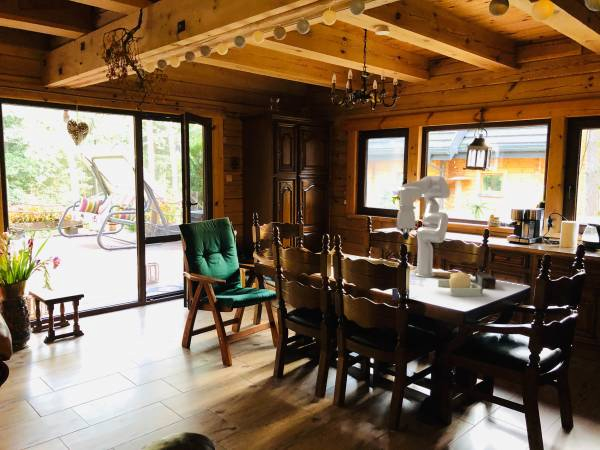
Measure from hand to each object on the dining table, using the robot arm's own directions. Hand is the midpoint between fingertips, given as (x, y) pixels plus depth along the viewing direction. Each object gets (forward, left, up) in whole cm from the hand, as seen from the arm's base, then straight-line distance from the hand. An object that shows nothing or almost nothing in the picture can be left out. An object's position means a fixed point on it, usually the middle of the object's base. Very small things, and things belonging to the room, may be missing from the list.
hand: (405, 239), depth 285 cm
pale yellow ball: (+16, +27, -27) cm, 42 cm away
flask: (+33, -10, -27) cm, 44 cm away
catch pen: (+16, +27, -27) cm, 41 cm away
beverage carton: (+2, +48, -27) cm, 55 cm away
